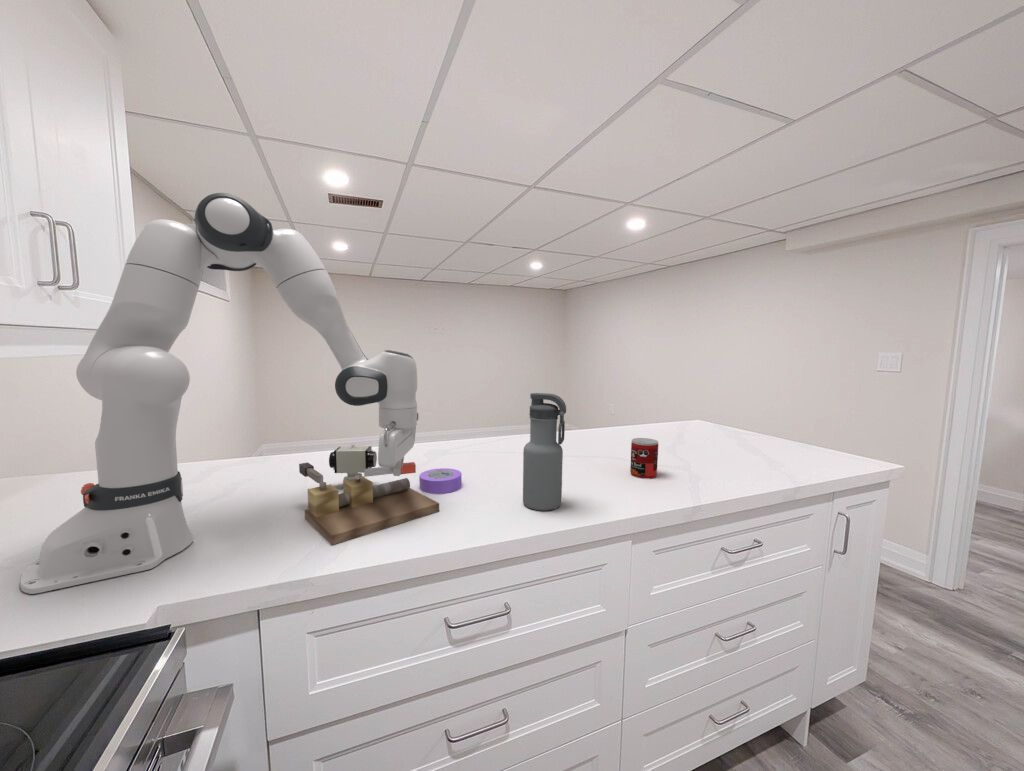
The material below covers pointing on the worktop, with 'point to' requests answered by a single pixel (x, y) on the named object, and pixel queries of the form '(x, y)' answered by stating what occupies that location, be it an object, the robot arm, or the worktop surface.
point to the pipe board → (361, 506)
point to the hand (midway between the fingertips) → (397, 474)
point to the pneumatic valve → (352, 460)
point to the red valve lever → (387, 470)
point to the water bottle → (544, 454)
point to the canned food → (644, 457)
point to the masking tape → (440, 481)
